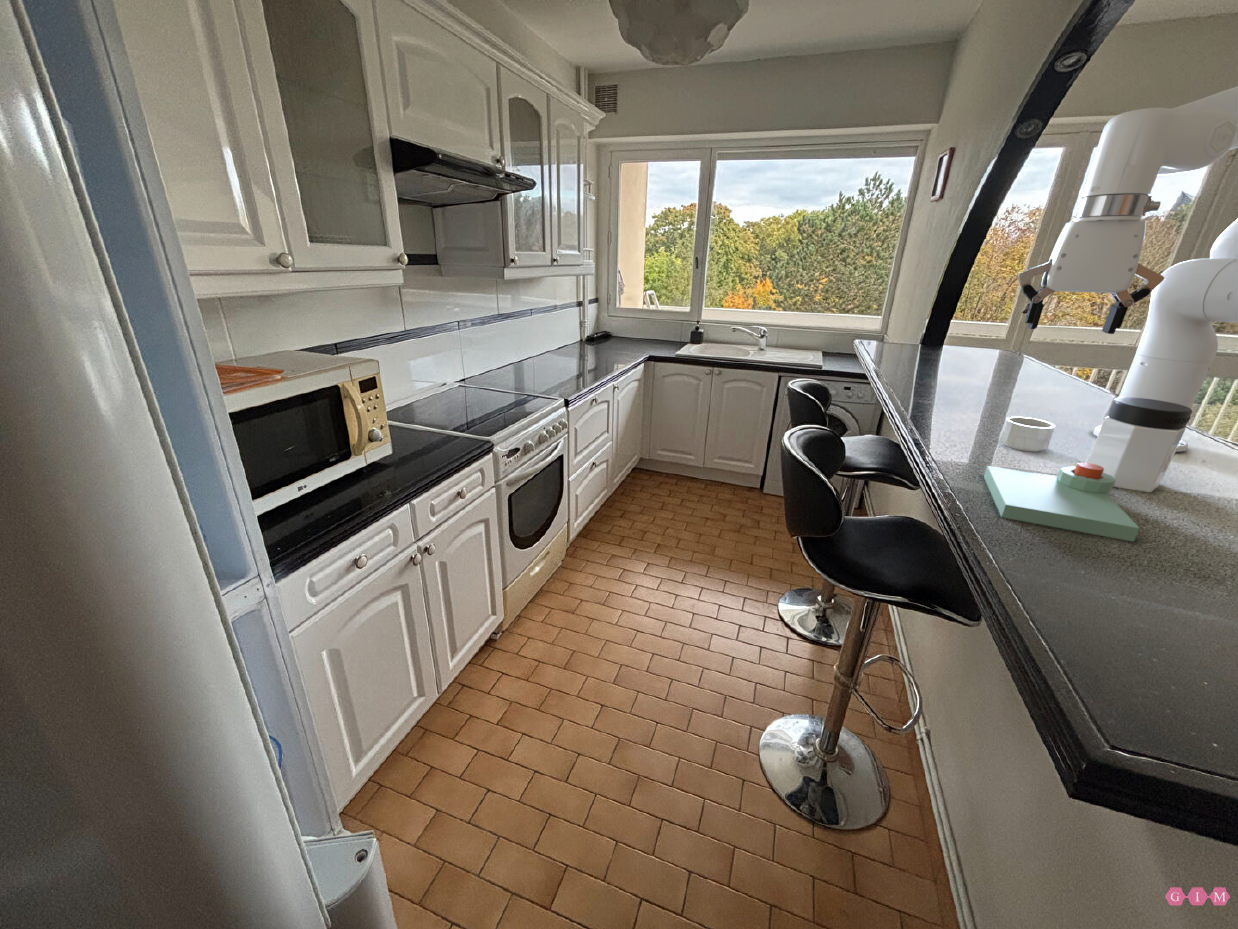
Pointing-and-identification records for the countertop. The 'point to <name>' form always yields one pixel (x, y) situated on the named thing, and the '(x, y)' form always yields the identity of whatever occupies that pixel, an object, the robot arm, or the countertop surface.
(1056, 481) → the scale
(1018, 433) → the bowl
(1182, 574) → the countertop surface
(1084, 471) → the button
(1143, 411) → the jar
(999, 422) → the countertop surface
